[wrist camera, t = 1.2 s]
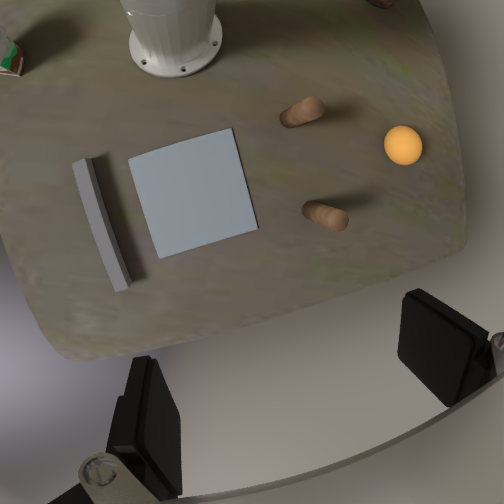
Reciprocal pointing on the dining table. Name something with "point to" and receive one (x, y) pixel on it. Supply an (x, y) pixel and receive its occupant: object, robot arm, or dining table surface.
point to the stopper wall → (101, 224)
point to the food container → (10, 56)
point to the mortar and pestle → (382, 3)
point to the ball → (403, 145)
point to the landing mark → (193, 192)
